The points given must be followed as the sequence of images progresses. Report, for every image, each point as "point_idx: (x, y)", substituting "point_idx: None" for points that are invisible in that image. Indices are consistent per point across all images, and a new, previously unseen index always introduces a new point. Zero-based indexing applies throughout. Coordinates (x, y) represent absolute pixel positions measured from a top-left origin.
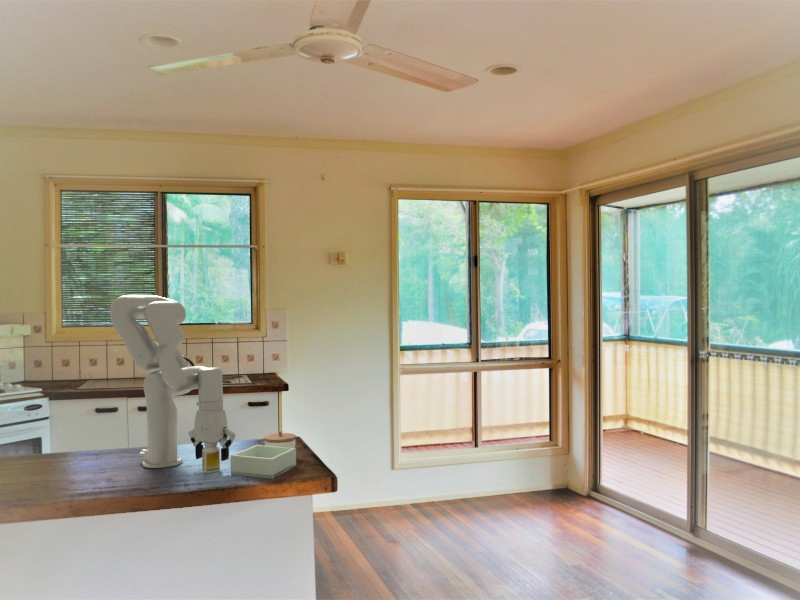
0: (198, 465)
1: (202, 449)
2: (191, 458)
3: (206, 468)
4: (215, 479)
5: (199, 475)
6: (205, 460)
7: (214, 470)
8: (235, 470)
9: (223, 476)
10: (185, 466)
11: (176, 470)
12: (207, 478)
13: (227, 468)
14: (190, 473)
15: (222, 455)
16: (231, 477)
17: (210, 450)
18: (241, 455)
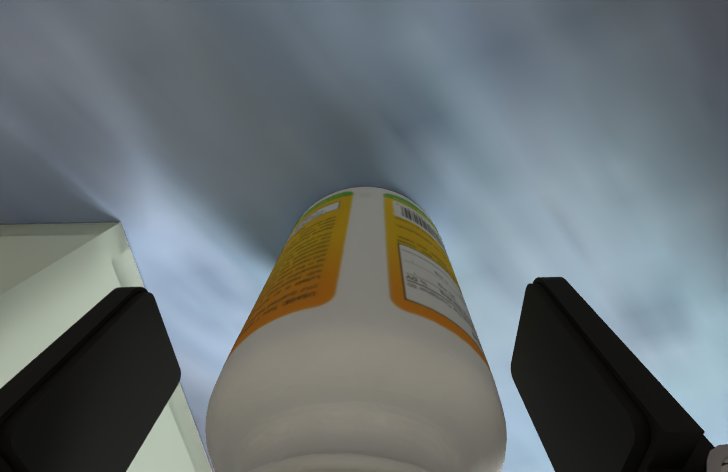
0: None
1: (488, 395)
2: None
3: (352, 200)
4: (92, 17)
5: (368, 88)
6: (361, 238)
7: (292, 230)
8: (36, 241)
9: (122, 148)
10: (681, 294)
11: (725, 160)
12: (201, 16)
13: None
14: (510, 118)
15: (65, 331)
16: (29, 147)
17: (251, 369)
18: None
